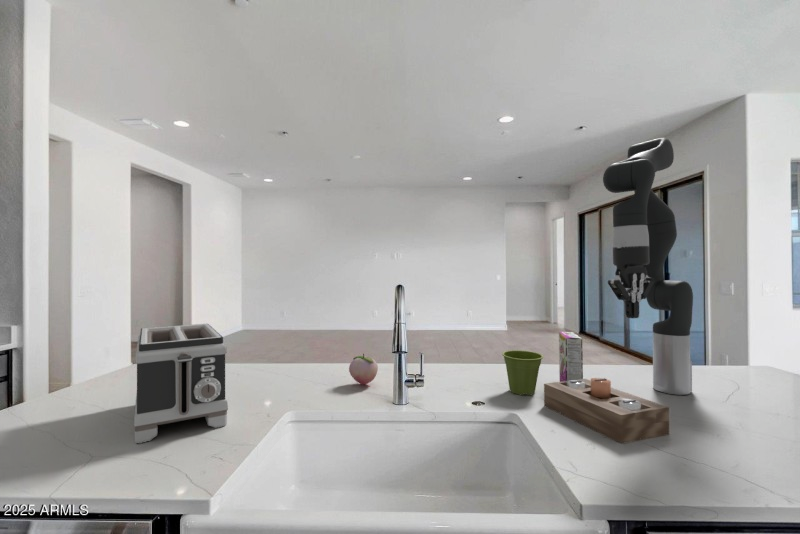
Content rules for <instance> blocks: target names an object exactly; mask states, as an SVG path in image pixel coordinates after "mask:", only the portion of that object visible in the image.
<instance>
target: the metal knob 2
mask: <svg viewBox="0 0 800 534" xmlns="http://www.w3.org/2000/svg"><path fill="white" fill-rule="evenodd" d="M618 406H619V407H622V408H624V409H627V410H630V411H635V410H641V403H640V402H638V401H636V400H634V399H619V400H618Z"/></svg>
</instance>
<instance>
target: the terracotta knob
mask: <svg viewBox="0 0 800 534" xmlns="http://www.w3.org/2000/svg"><path fill="white" fill-rule="evenodd" d="M590 380H591V395H592V396H595V397H599V398H610V397H611V388H612V383H611V382H612V381H611V380H610V379H607V378H606V377H603V378H602V377H593V378H592V377H591V378H590Z"/></svg>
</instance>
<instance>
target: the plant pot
mask: <svg viewBox="0 0 800 534" xmlns="http://www.w3.org/2000/svg"><path fill="white" fill-rule="evenodd" d="M501 355H502V356H503V359H504V364H505V367H506V372H507V373H506V374H507V381H508V386H509V387H508V388H509V391H510V392H511V393H513V394H516V395H518V394H521V395H520V396H524V395H527V396H532V395H534V394H535V393H536V388H537V382H538V377H539V370H540V367H541V364H542V360H543V359H544V355H543V354H542V353H539V352H537V351H535V352H534V351H530V350H519V349H517V350H505V351H503V352H502V353H501ZM531 394H532V395H531Z"/></svg>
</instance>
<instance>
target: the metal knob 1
mask: <svg viewBox="0 0 800 534" xmlns="http://www.w3.org/2000/svg"><path fill="white" fill-rule="evenodd" d="M567 386H568V387H570V388H573V389H575V390H576V389H584V388H585V383H584V382H582V381H578V380H568V381H567Z"/></svg>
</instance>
